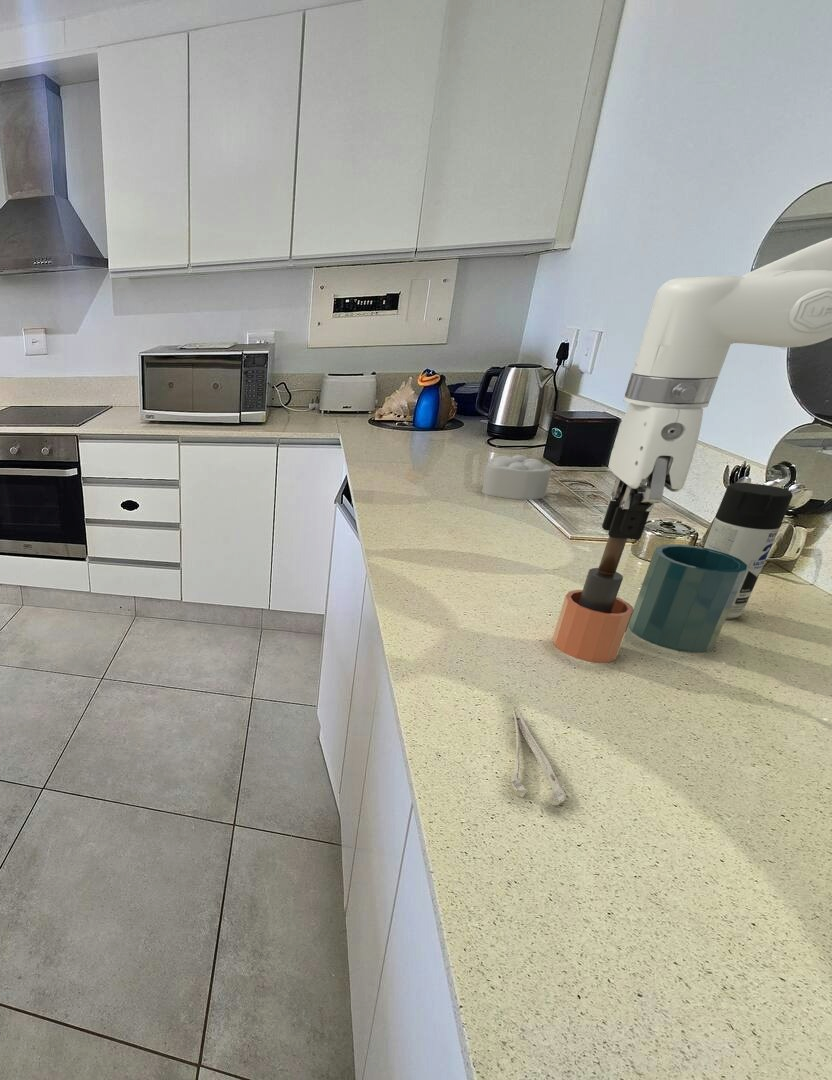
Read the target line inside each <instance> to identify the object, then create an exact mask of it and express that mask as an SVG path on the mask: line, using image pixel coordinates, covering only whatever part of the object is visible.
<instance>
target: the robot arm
mask: <svg viewBox="0 0 832 1080" xmlns="http://www.w3.org/2000/svg"><path fill="white" fill-rule="evenodd" d="M648 315H649V316H648V318H647V322H646V325H645V328H644V331H643V335H642V337H641V341H640V345H639V348H638V351H637V354H636V357H635V361H634V363H633V368H632V371H631V373H630V377H629V381H628V384H627V387H626V389H625V393H624V398H623V402H625V403H627V404H628V407H626V410H625V412H624V416H623V418H622V422H620V426H619V429H618V432H617V434H616V437H615V441H614V443H613V445H612V449H611V452H610V457H609V462H608V468H609V470H610V472H611V473H613V474H614V476H615V480H614V484H613V488H612V491H611V494H610V500H609V503H608V507H607V509H606V512H605V516H604V519H603V521H602V525H601V528H602V529H603V530H604V531H608V532H607V533H608V534H607V535H608V537H609V536H610V537H612V538H622V539H627V540H631V541H632V540H634V541H637V540H640V539H641V538H642V535H643V533H644V530H645V527H646V524H647V521H648V518H649V515H650V513H651V512H652V510H653V508H654V505H655V504H660V503H661V502H662V501H663V496H664V489H667V490H669V491H670V492H673V493H677V492H679V491H681V490H682V489H683V488H684V486H685V484H686V480H687V477H688V474H689V471H690V468H691V465H692V461H693V458H694V456H695V455H694V454H695V452H696V448H697V445H698V441H699V436H700V431H701V427H702V421H703V416H704V415H703V414H704V409H705V408H707V407H708V406H709V404H710V402H711V398H712V396H713V394H714V390H715V389H716V388H715V387H716V385H717V383H718V380H719V377H720V374H721V372H722V368H723V366H724V363H725V361H726V358H727V355H728V353H729V350H730V347H731V345H733V344H747V345H756V346H766V347H774V348H800V347H806V346H811V345H815V344H817V343H821V342H824V341H827V340H830V339H831V338H832V237H830V238H827V239H824V240H822V241H819V242H817V243H814V244H812V245H809V246H807V247H805V248H802V249H800V250H797V251H795V252H793V253H791V254H788V255H785V256H783V257H781V258H779V259H777V260H775V261H771V262H769V263H766V264H765V265H762V266H761V267H758V268H756V269H753V270H752V271H749V272H747V273H745V274H743V275H742V276H739V275H704V276H701V275H700V276H685V277H676V278H672V279H669V280H667V281H666V282H664V283H663V284H662V285H660V287H659V288H658V290H657V291H656V294H655V296H654V299H653V302H652V305H651V309H650V312H649V314H648ZM634 494H635V495H634ZM623 496H624V497H623ZM622 497H623V500H622V503H621V507H619V505H620V502H621V499H622Z"/></svg>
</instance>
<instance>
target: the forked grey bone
mask: <svg viewBox="0 0 832 1080" xmlns="http://www.w3.org/2000/svg"><path fill="white" fill-rule="evenodd" d="M512 713H513V720H514V721H513V722H514V729H515V754H516V755H515V769H514V772H513V774H512V775H511V777H510V783H511V787H512V789H513V791H514V792H515V794H516V796H518V797H520V798H524V797H525V795H526V793H528V792H529V790H528V789H527V788H525V786H524V785H523V783H522V782H521V780H520V779H519V773H520V767H521V765H520V764H521V763H520V762H521V761H520V732H521V734H522V736H523V738H524V740H525V741H526V743H527V745H528V747H529V748H530V749H531V751H532V753H533V755H534V756H535V758H536V760H537V761H538V763H539V766H540V768H541V770H542V772H543V775H544V777H545V778H546V780H547V781H548V784H549V785H550V788H551V789H552V792H551V795H549V798H550V805H551V806H559V805H561V803H564V801H565V800H566V797H567V794H566V792H565V789H564V787H562V785H561V784H560V781H559V780H558V778H557V776H556V775H555V772H554V769H553V767H552V765H551V763H550V761H549V759H548V758H547V757H546V754H545V753H544V752H543V750H542V749H541V747H540V746H539V744H538V742H537V741H536V740H535V738H534V737H533V734H532V733H531V731H530V729H529V728H528V726H527V723H526V722H525V720H524V718H523V717H522V714H521V713H520V711H519V709H518V708H517V714H518V716H519V717H517V714H516V711H515V706H512ZM552 776H553V778H554V779H553V778H552Z"/></svg>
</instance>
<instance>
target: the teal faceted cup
mask: <svg viewBox="0 0 832 1080" xmlns="http://www.w3.org/2000/svg"><path fill="white" fill-rule="evenodd" d="M746 571H747V564H745V563H744V562H743V561H742V560H740V559H738V558H736V557H734V556H731V555H729V554H726V553H722V552H719V551H715V550H712V549H708V548H704V547H703V546H698V545H697V546H696V545H690V544H689V545H688V544H679V543H678V544H673V543H672V544H661V545H658V546H655V548H654V551H653V554H652V556H651V558H650V561H649V564H648V567H647V570H646V573H645V575H644V578H643V581H642V583H641V586H640V590H639V593H638V595H637V597H636V601H635V604H634V606H633V609H634V611H633V614H632V616H631V619H630V622H629V625H628V629H629V630H630V631H631V633H633V634H634V635H635V636H636V637H638V638H640V639H642V640H643V641H645V642H648V643H650V644H653V645H656V646H659V647H662V648H664V649H667V650H668V649H669V650H672V651H677V652H683V653H694V654H699V653H706V652H710V651H711V650H713V648H714V647H715V645H716V643H717V640H718V638H719V636H720V633H721V631H722V629H723V626H724V624H725V621H726V620H727V619H726V617H727V615H728V613H729V610H730V608H731V606H732V603H733V601H734V599H735V597H736V594H737V592H738V590H739V587H740V585H741V583H742V580H743V578H744V576H745V574H746Z"/></svg>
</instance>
